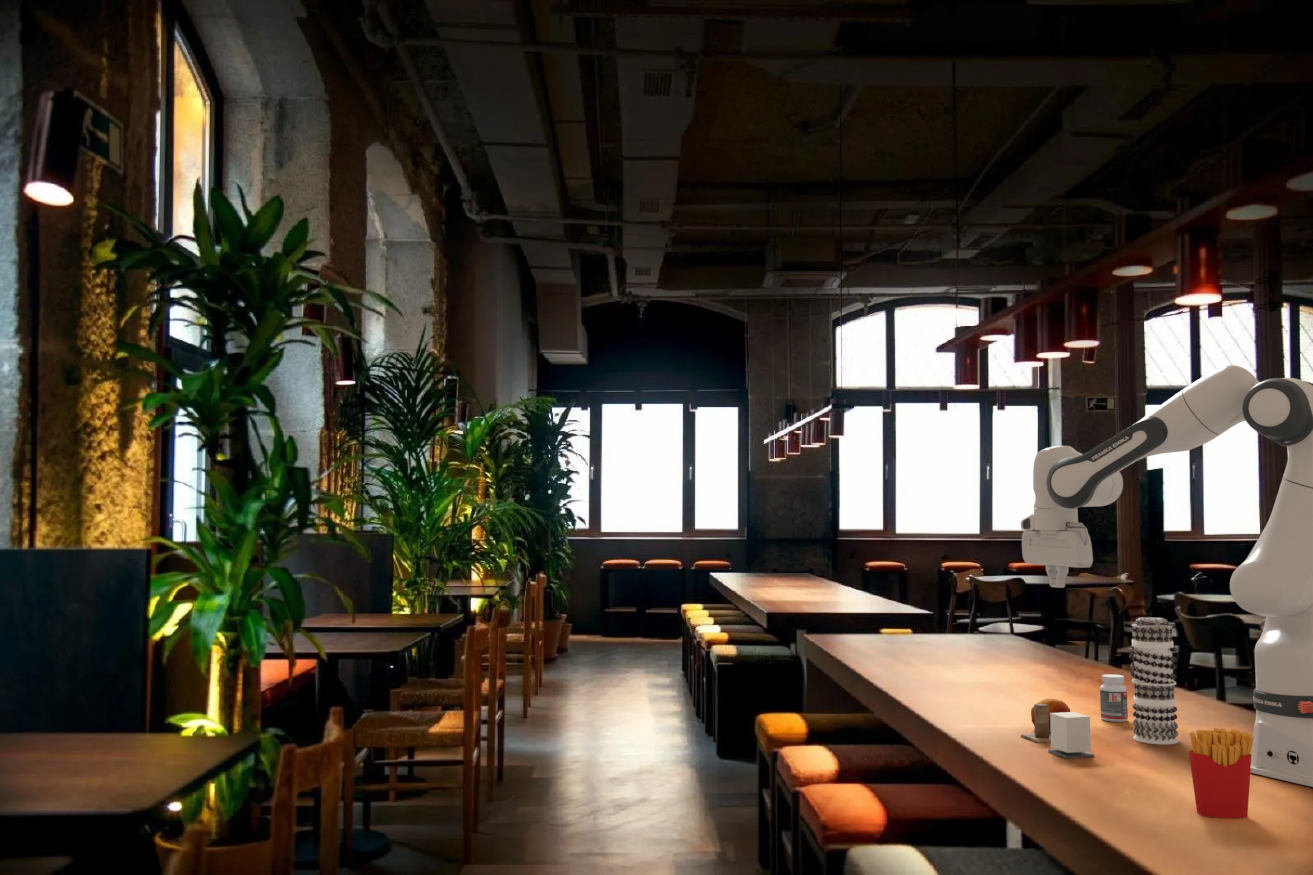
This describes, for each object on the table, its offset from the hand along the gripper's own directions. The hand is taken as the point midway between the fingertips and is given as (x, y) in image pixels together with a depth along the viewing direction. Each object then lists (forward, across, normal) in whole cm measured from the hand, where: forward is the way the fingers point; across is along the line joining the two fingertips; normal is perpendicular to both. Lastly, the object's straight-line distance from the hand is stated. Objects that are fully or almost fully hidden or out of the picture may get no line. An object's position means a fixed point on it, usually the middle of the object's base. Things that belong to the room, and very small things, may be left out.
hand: (1057, 587), depth 234 cm
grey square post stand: (+31, -16, +9) cm, 36 cm away
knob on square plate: (+31, -2, +6) cm, 32 cm away
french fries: (+31, -59, +12) cm, 68 cm away
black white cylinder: (+31, -9, -16) cm, 36 cm away
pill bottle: (+31, +12, -22) cm, 40 cm away
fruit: (+31, +5, -1) cm, 32 cm away
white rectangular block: (+30, -16, +9) cm, 35 cm away
